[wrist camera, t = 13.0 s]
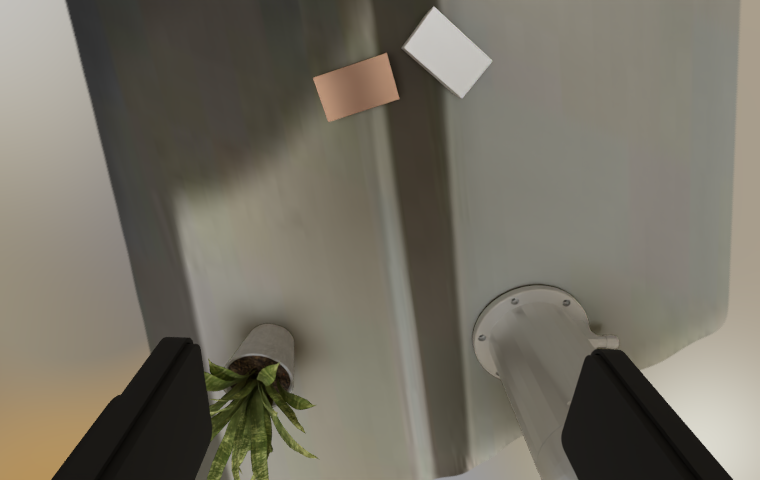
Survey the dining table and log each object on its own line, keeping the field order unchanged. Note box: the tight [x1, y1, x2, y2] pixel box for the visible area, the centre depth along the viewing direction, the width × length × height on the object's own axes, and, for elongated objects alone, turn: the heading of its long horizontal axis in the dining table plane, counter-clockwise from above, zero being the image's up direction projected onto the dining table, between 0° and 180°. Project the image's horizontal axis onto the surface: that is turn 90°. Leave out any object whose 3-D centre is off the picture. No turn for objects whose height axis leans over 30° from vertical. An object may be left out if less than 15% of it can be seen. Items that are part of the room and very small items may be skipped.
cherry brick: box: [313, 53, 399, 122], centre depth 34 cm, size 6×4×4 cm, turn 107°
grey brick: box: [401, 7, 492, 98], centre depth 34 cm, size 6×4×4 cm, turn 52°
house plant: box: [204, 324, 320, 480], centre depth 39 cm, size 14×14×16 cm
